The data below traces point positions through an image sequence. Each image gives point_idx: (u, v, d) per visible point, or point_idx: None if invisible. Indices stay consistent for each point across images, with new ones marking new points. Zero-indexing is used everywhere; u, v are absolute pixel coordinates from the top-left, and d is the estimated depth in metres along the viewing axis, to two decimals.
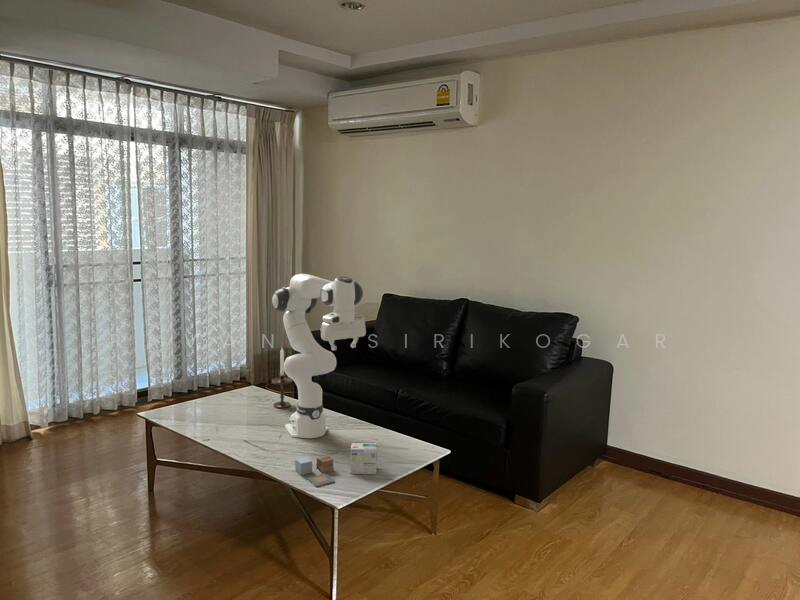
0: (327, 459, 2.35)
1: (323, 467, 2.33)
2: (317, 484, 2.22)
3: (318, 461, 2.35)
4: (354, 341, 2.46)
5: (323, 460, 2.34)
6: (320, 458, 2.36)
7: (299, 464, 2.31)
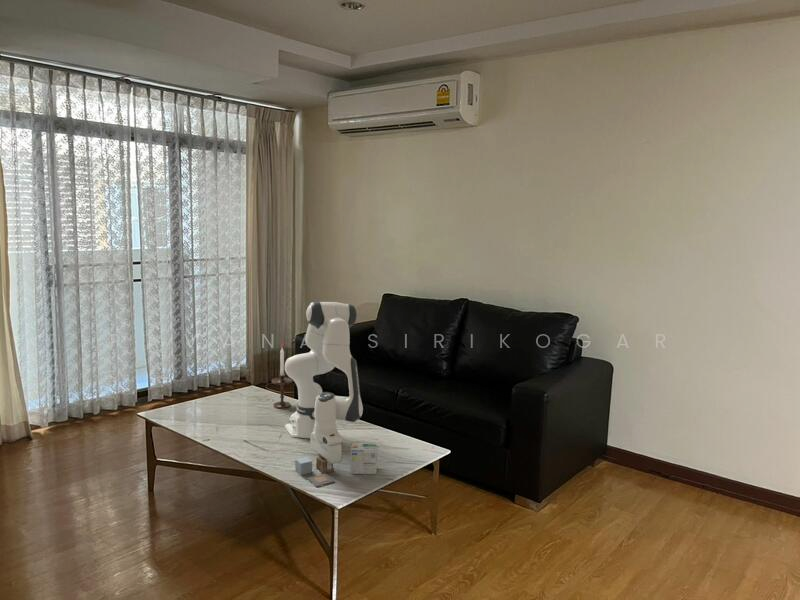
0: None
1: (323, 467, 2.33)
2: (317, 484, 2.22)
3: (318, 461, 2.35)
4: None
5: (323, 460, 2.34)
6: (320, 458, 2.36)
7: (299, 464, 2.31)
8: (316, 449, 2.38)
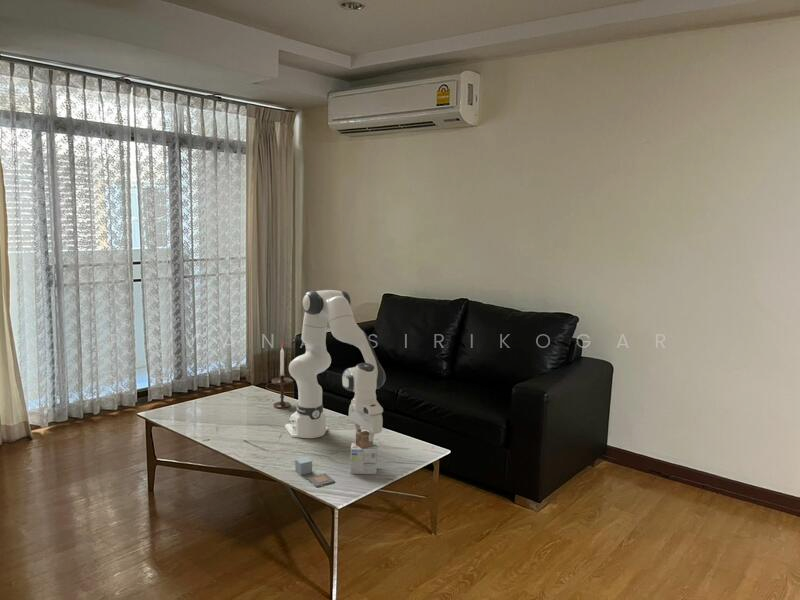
0: (367, 434, 2.34)
1: (363, 442, 2.32)
2: (317, 484, 2.22)
3: (358, 436, 2.34)
4: (358, 427, 2.39)
5: (363, 435, 2.32)
6: (359, 433, 2.34)
7: (299, 464, 2.31)
8: (355, 420, 2.36)
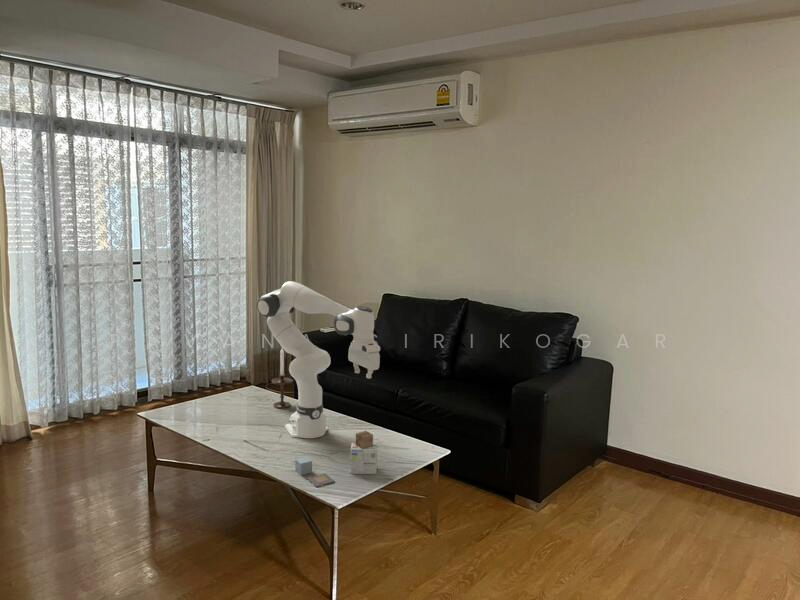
0: (367, 434, 2.34)
1: (363, 443, 2.32)
2: (317, 484, 2.22)
3: (358, 437, 2.34)
4: (357, 366, 2.56)
5: (363, 436, 2.32)
6: (359, 434, 2.34)
7: (299, 464, 2.31)
8: (354, 360, 2.53)
